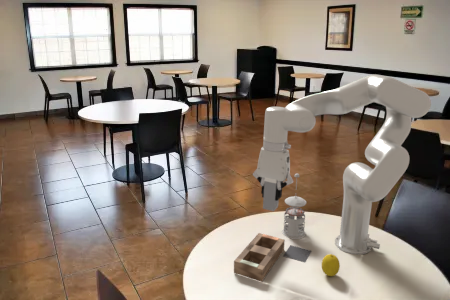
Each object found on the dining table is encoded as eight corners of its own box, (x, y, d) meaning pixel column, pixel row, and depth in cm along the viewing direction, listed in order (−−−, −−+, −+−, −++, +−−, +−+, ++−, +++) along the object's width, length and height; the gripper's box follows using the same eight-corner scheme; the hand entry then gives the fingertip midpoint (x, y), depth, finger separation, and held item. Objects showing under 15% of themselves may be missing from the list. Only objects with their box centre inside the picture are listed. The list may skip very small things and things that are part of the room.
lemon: (328, 283, 119) (331, 261, 116) (317, 273, 124) (318, 252, 121) (342, 278, 121) (344, 256, 119) (330, 269, 126) (332, 248, 124)
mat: (311, 251, 136) (311, 250, 136) (305, 263, 129) (305, 262, 129) (290, 246, 139) (290, 245, 139) (282, 257, 133) (282, 256, 133)
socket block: (284, 250, 137) (284, 239, 135) (262, 282, 120) (262, 269, 118) (258, 243, 141) (258, 232, 140) (233, 272, 124) (233, 260, 123)
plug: (278, 206, 130) (280, 173, 126) (273, 211, 126) (276, 177, 123) (267, 204, 131) (269, 171, 128) (262, 208, 128) (264, 175, 124)
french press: (279, 238, 145) (281, 177, 137) (283, 223, 155) (286, 166, 148) (305, 242, 142) (309, 179, 134) (308, 227, 153) (312, 168, 145)
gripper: (303, 146, 122) (298, 199, 127) (255, 139, 129) (252, 188, 135) (296, 153, 115) (291, 207, 121) (246, 144, 123) (243, 196, 128)
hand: (271, 197), depth 128 cm, fingers closed on plug, 4 cm apart
